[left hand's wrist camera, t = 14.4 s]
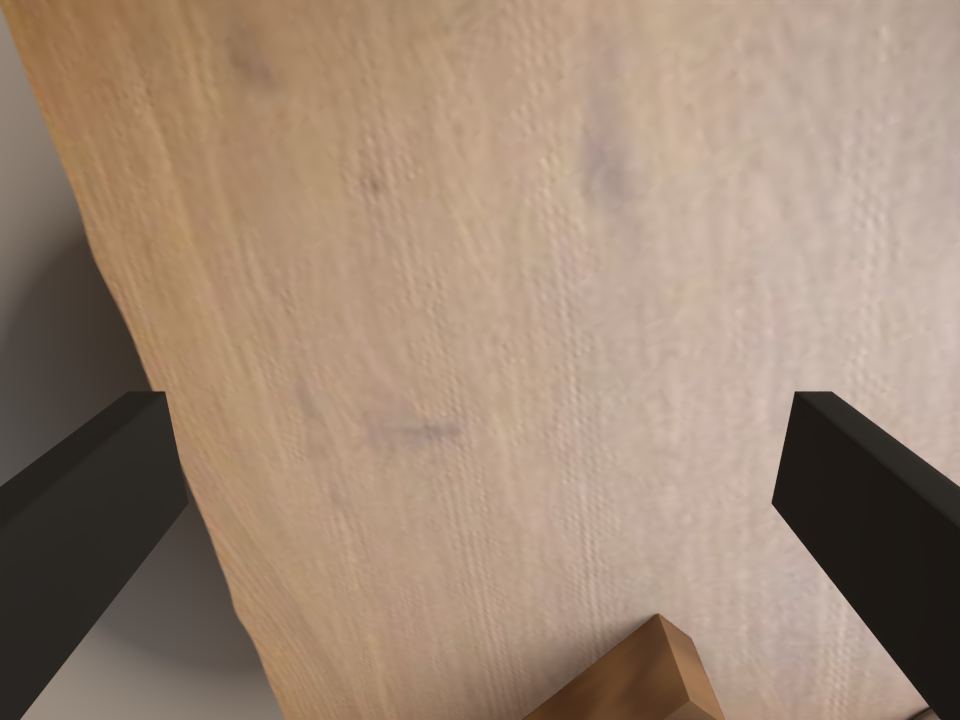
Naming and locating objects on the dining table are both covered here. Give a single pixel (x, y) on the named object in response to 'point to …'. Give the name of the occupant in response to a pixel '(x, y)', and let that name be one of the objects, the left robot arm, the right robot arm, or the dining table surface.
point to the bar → (639, 682)
